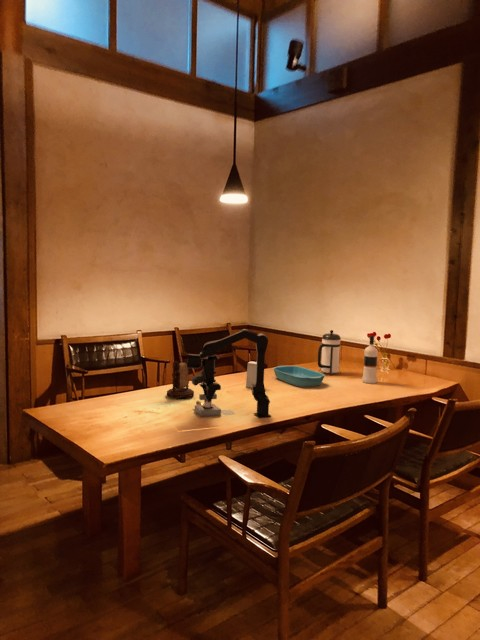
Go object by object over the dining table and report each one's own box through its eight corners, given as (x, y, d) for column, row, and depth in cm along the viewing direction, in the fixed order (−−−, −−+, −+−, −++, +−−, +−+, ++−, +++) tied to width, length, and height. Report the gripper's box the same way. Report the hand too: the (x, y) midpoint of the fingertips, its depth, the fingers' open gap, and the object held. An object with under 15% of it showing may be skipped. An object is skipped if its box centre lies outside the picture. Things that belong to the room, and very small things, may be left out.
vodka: (360, 382, 330) (363, 335, 327) (363, 380, 338) (366, 334, 335) (375, 384, 326) (377, 337, 323) (378, 381, 334) (381, 335, 331)
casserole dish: (331, 386, 319) (331, 375, 318) (302, 390, 307) (302, 378, 306) (294, 374, 350) (294, 364, 349) (266, 377, 338) (267, 366, 337)
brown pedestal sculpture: (179, 401, 273) (179, 363, 271) (161, 395, 283) (161, 359, 281) (199, 396, 284) (200, 360, 282) (181, 391, 294) (182, 356, 292)
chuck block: (220, 416, 248) (221, 409, 248) (200, 418, 244) (201, 411, 244) (207, 405, 266) (207, 398, 266) (188, 407, 263) (188, 400, 262)
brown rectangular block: (216, 413, 251) (217, 394, 249) (200, 415, 247) (201, 395, 246) (214, 411, 254) (214, 392, 253) (198, 413, 251) (199, 394, 250)
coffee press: (316, 370, 364) (318, 328, 361) (340, 372, 362) (342, 329, 358) (317, 375, 347) (319, 331, 343) (341, 377, 345) (343, 332, 341)
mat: (236, 415, 251) (236, 414, 251) (225, 416, 249) (225, 415, 249) (230, 410, 258) (230, 409, 258) (219, 411, 256) (219, 410, 256)
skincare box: (245, 387, 309) (246, 362, 307) (249, 385, 314) (250, 360, 313) (259, 388, 306) (259, 364, 304) (262, 386, 311) (263, 362, 310)
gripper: (186, 365, 254) (186, 397, 255) (198, 373, 237) (197, 407, 238) (208, 364, 258) (207, 395, 260) (221, 372, 241) (220, 405, 243)
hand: (207, 400), depth 250 cm, fingers closed on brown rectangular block, 3 cm apart
